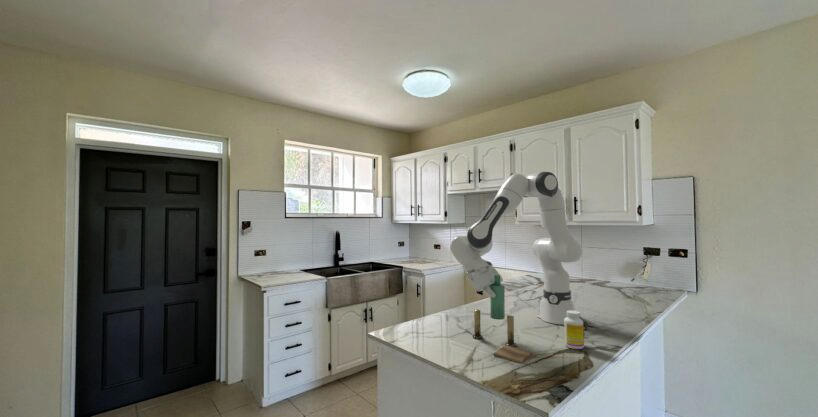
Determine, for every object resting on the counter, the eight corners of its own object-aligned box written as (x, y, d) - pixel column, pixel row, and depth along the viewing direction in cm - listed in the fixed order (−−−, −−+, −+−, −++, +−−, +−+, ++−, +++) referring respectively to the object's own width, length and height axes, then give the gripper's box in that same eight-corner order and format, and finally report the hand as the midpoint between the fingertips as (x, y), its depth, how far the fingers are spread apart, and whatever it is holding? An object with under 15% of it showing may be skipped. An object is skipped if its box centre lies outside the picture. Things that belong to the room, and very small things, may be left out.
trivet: (505, 347, 124) (505, 345, 124) (532, 353, 118) (531, 351, 118) (493, 355, 117) (493, 353, 117) (521, 363, 110) (521, 360, 110)
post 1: (475, 335, 138) (475, 308, 138) (484, 337, 135) (483, 309, 136) (470, 337, 135) (470, 310, 135) (479, 339, 132) (479, 312, 132)
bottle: (494, 314, 139) (493, 274, 139) (506, 317, 135) (506, 275, 136) (488, 317, 134) (487, 275, 135) (501, 320, 131) (501, 277, 131)
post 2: (507, 342, 129) (507, 314, 129) (518, 345, 126) (517, 316, 127) (503, 345, 126) (503, 316, 126) (514, 348, 123) (513, 318, 124)
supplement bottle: (587, 349, 121) (586, 314, 122) (569, 349, 122) (568, 314, 122) (578, 343, 128) (577, 309, 129) (561, 343, 128) (560, 309, 129)
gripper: (469, 266, 132) (492, 294, 125) (492, 261, 148) (513, 286, 141) (460, 276, 134) (482, 304, 128) (483, 270, 150) (503, 295, 144)
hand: (498, 295), depth 135 cm, fingers closed on bottle, 6 cm apart
